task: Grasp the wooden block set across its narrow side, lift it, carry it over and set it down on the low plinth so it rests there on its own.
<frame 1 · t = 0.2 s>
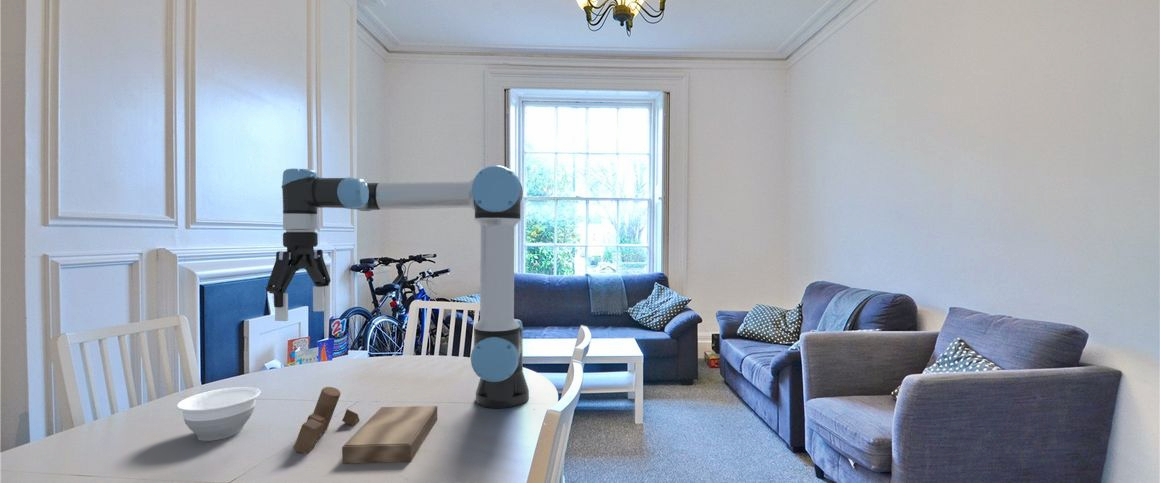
hand: (301, 315, 117), 27 cm above the table, fingers open, 13 cm apart
plinth: (394, 439, 108), on the table
bowl: (221, 433, 112), on the table
wooden block set: (323, 437, 110), on the table
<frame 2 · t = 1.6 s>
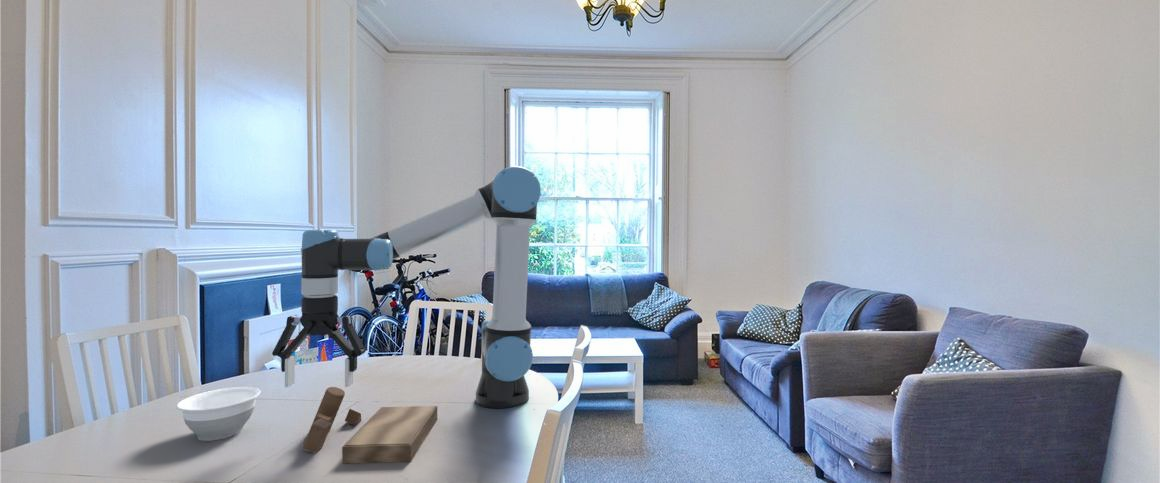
hand: (319, 385, 110), 12 cm above the table, fingers open, 13 cm apart
wooden block set: (328, 437, 110), on the table
everything else where it was.
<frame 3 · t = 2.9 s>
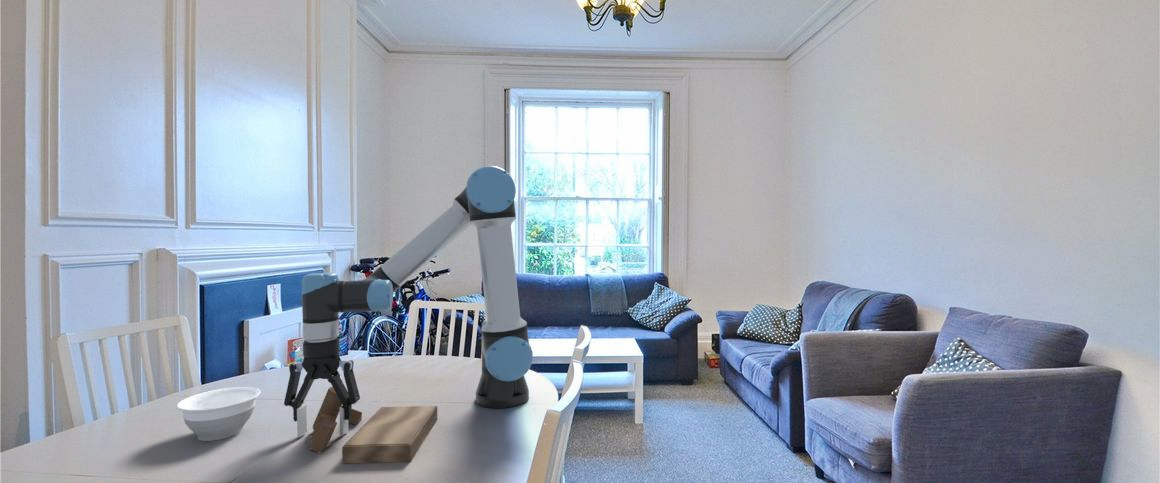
hand: (323, 433, 110), 0 cm above the table, fingers open, 9 cm apart
wooden block set: (330, 436, 110), on the table, touching gripper
everything else where it was.
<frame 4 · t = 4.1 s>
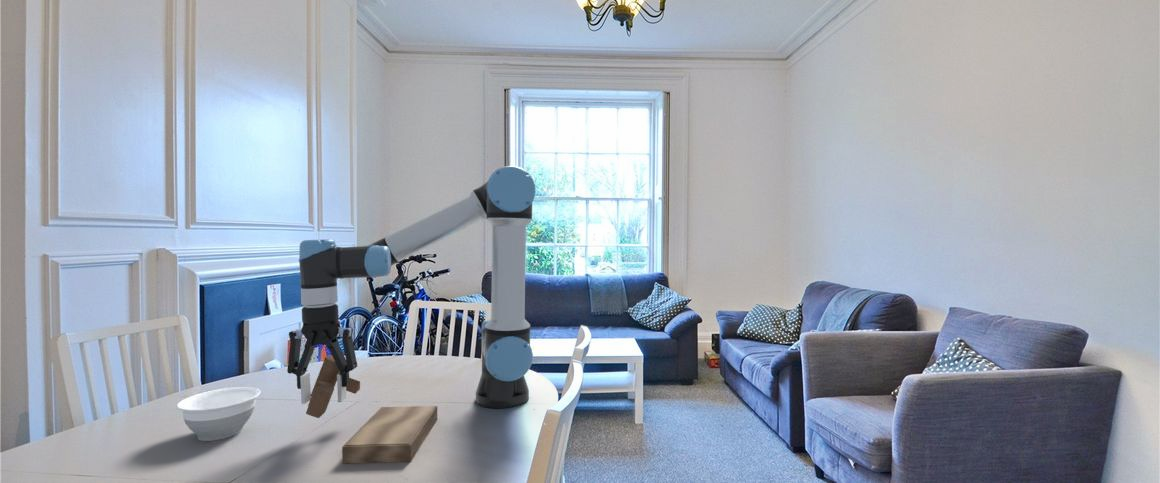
hand: (324, 400, 110), 8 cm above the table, fingers closed on wooden block set, 8 cm apart
wooden block set: (329, 404, 110), point 7 cm above the table, touching gripper
everything else where it was.
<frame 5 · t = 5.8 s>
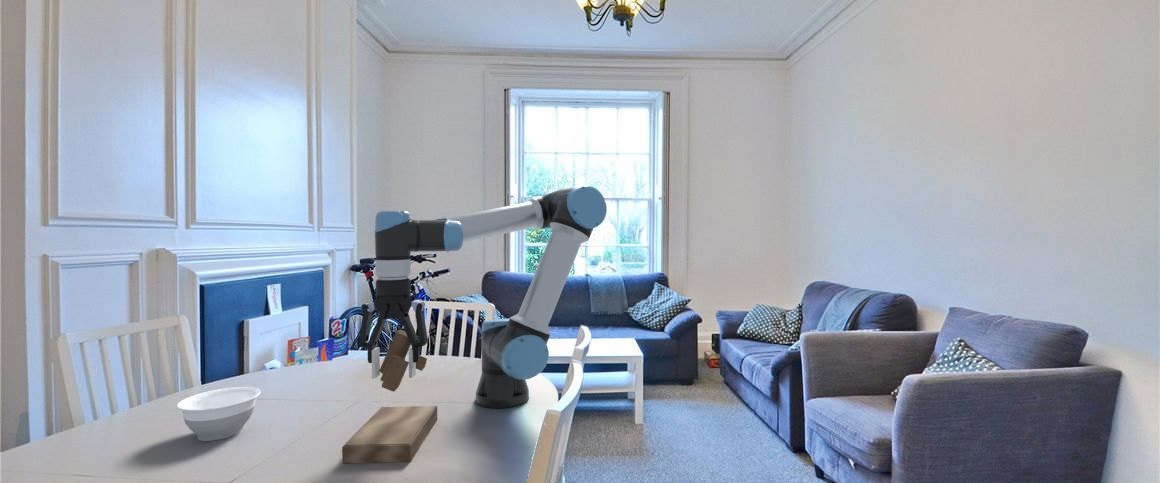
hand: (394, 376, 108), 15 cm above the table, fingers closed on wooden block set, 8 cm apart
wooden block set: (398, 380, 108), point 14 cm above the table, touching gripper
everything else where it was.
when the fingers open (6 cm above the table, at t = 7.7 s): wooden block set drops 1 cm, resting on plinth.
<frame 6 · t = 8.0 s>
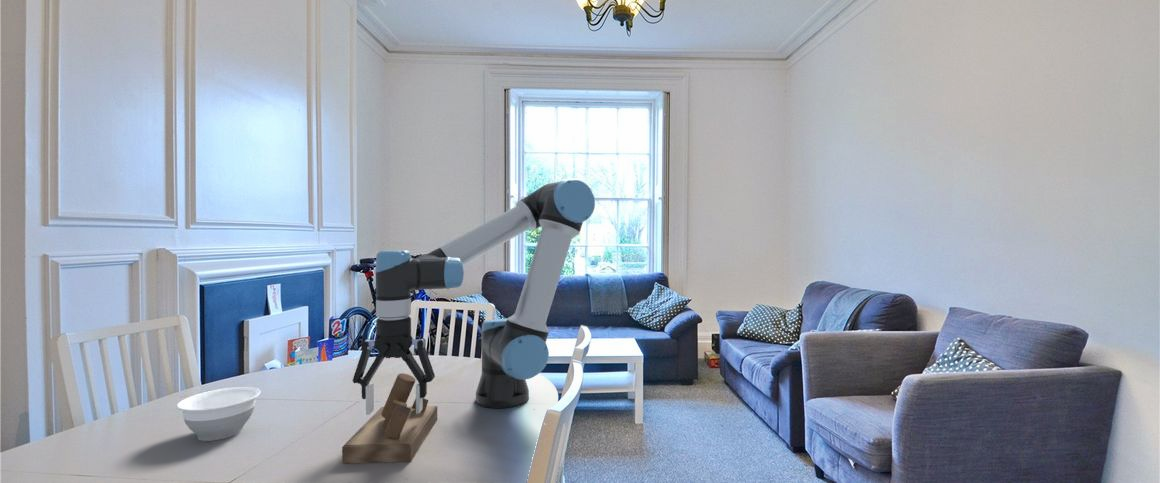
hand: (394, 411, 108), 6 cm above the table, fingers open, 10 cm apart
wooden block set: (400, 424, 108), point 3 cm above the table, touching plinth
everything else where it was.
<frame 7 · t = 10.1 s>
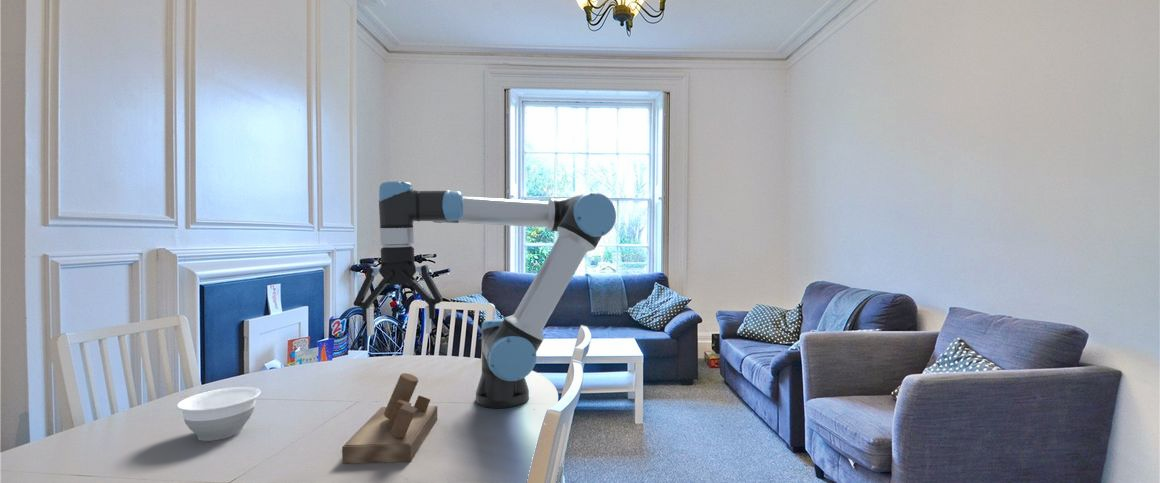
hand: (400, 333, 113), 23 cm above the table, fingers open, 13 cm apart
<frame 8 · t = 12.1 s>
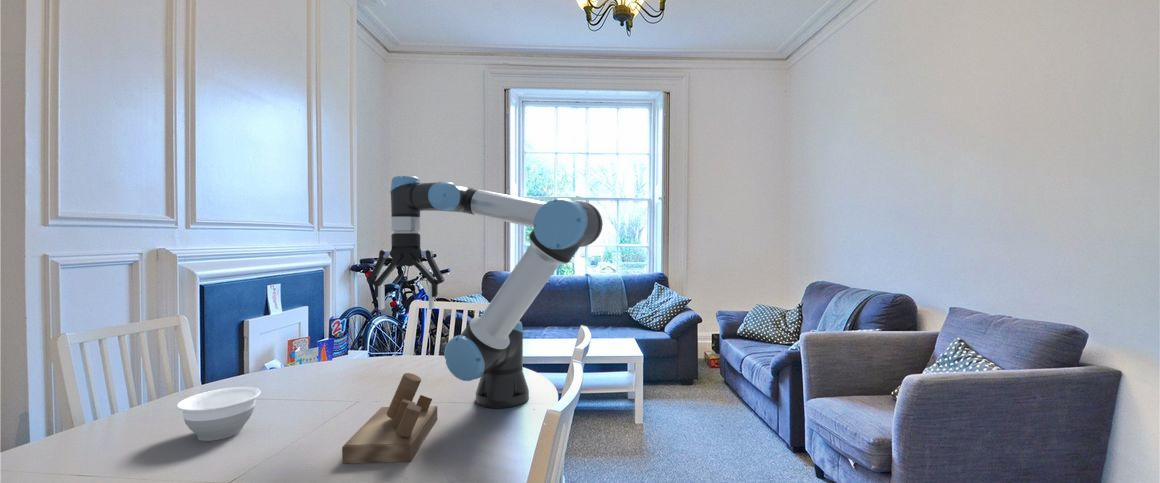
hand: (406, 309, 129), 27 cm above the table, fingers open, 13 cm apart
at the end: wooden block set inside the target area on the plinth (2.8 cm from its centre), point 3.4 cm above the plinth's base; wooden block set touching plinth; the gripper is holding nothing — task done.
